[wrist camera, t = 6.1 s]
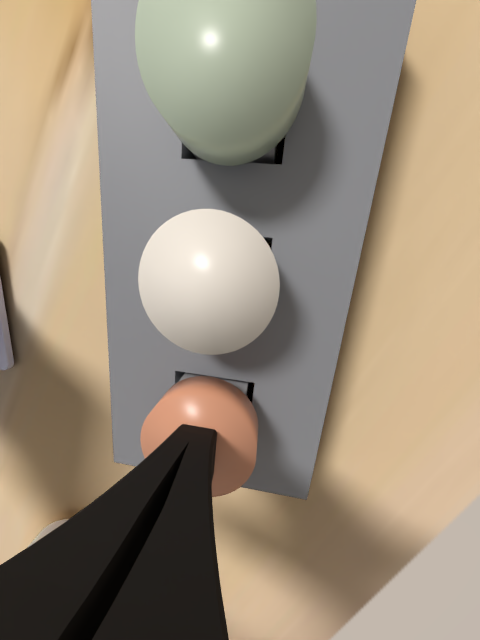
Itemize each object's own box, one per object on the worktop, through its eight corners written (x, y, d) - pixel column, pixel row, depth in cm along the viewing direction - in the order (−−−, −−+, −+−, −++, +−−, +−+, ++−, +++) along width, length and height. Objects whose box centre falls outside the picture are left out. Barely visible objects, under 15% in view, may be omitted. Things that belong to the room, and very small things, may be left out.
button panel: (300, 458, 14) (306, 499, 11) (139, 429, 15) (113, 462, 12) (387, 20, 9) (432, -73, 6) (133, 20, 10) (87, -60, 7)
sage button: (189, 187, 10) (136, 138, 6) (193, 67, 9) (132, -89, 5) (287, 194, 10) (299, 147, 6) (304, 68, 9) (334, -99, 5)
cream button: (184, 316, 12) (139, 344, 8) (187, 225, 11) (136, 202, 7) (269, 327, 12) (269, 363, 7) (282, 233, 10) (290, 214, 6)
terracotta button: (180, 416, 13) (140, 485, 9) (183, 345, 12) (139, 387, 8) (256, 429, 13) (249, 506, 9) (265, 357, 12) (263, 407, 8)
